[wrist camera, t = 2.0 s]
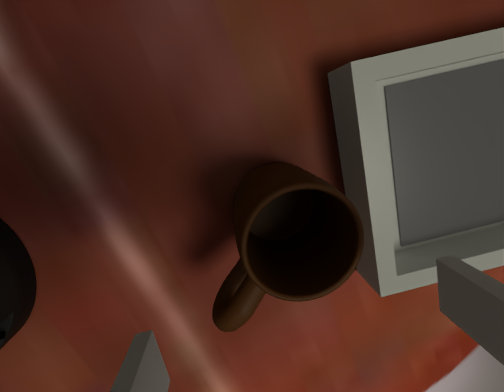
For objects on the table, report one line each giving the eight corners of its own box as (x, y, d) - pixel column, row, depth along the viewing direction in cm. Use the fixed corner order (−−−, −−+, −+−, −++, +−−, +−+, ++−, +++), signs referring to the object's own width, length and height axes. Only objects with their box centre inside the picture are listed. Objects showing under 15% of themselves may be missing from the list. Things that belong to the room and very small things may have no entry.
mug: (250, 294, 28) (264, 376, 19) (184, 249, 26) (163, 315, 17) (334, 196, 26) (394, 233, 17) (269, 142, 25) (297, 151, 16)
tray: (356, 270, 28) (381, 297, 24) (327, 73, 24) (350, 61, 20) (551, 220, 29) (609, 237, 25) (558, 21, 25) (630, -2, 20)
